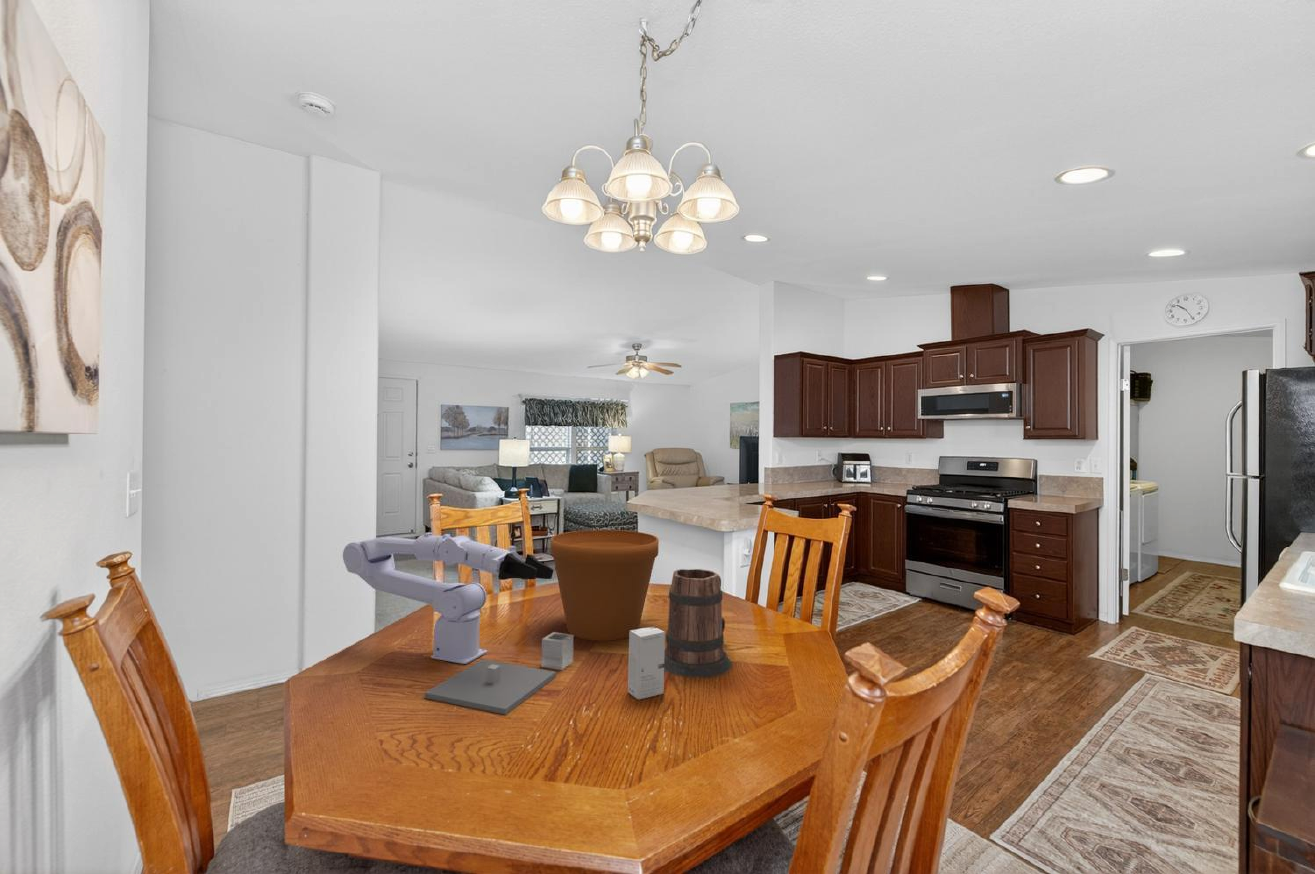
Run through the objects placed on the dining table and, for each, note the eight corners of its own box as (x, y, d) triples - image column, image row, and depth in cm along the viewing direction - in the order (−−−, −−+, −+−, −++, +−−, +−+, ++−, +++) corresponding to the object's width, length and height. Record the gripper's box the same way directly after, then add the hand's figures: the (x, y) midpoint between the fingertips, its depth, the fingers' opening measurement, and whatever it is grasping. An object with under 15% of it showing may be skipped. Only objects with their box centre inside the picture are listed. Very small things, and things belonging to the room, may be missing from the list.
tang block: (424, 697, 111) (424, 676, 111) (482, 663, 128) (483, 645, 128) (505, 714, 105) (506, 692, 105) (555, 676, 122) (556, 657, 122)
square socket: (541, 666, 127) (542, 639, 127) (553, 658, 132) (553, 631, 132) (561, 670, 126) (562, 642, 126) (572, 661, 130) (573, 634, 130)
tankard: (713, 684, 120) (715, 586, 120) (642, 667, 128) (644, 575, 128) (753, 649, 141) (754, 565, 141) (689, 636, 149) (690, 557, 149)
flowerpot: (676, 624, 158) (678, 536, 158) (614, 656, 134) (616, 553, 134) (594, 606, 173) (596, 526, 173) (525, 632, 149) (527, 539, 149)
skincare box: (638, 700, 112) (639, 637, 112) (626, 692, 116) (627, 630, 116) (665, 693, 115) (666, 631, 115) (652, 685, 119) (653, 625, 119)
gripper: (477, 539, 124) (533, 554, 120) (511, 542, 138) (562, 556, 134) (467, 572, 123) (523, 589, 119) (503, 572, 137) (554, 587, 132)
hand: (544, 574), depth 126 cm, fingers open, 7 cm apart
